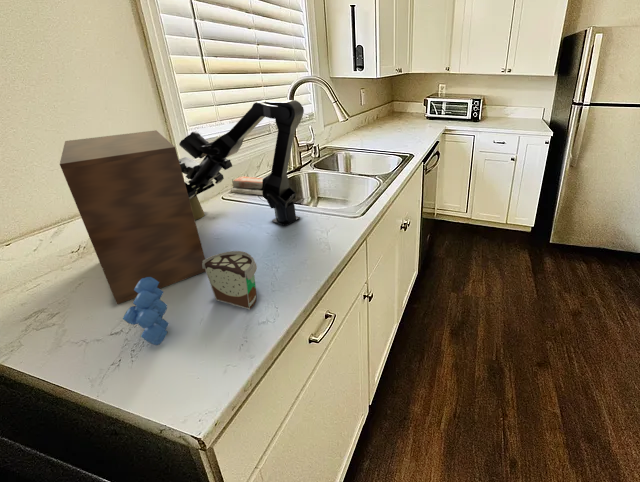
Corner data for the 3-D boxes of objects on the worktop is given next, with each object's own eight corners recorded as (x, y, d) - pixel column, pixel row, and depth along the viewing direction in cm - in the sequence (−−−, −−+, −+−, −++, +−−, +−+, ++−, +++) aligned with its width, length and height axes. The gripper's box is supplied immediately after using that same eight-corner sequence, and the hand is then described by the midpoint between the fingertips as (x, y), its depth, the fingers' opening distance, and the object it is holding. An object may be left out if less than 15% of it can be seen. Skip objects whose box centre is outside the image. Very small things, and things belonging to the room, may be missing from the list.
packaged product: (227, 181, 130) (244, 173, 139) (229, 192, 131) (246, 184, 140) (266, 184, 125) (281, 176, 134) (268, 196, 127) (283, 187, 136)
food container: (275, 292, 74) (268, 255, 70) (255, 311, 68) (246, 271, 65) (232, 282, 78) (223, 245, 74) (210, 298, 72) (200, 260, 69)
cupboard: (185, 233, 100) (156, 130, 88) (208, 270, 82) (175, 146, 70) (110, 256, 89) (64, 141, 77) (117, 304, 71) (59, 164, 59)
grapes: (136, 323, 66) (117, 273, 61) (176, 310, 69) (160, 262, 64) (127, 366, 56) (104, 311, 52) (174, 349, 59) (155, 296, 55)
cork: (183, 221, 107) (174, 191, 103) (185, 214, 112) (176, 185, 108) (204, 218, 110) (196, 187, 106) (205, 211, 115) (197, 182, 111)
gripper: (208, 143, 111) (186, 173, 116) (165, 158, 94) (142, 192, 99) (234, 166, 113) (211, 194, 118) (197, 185, 96) (172, 217, 101)
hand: (186, 198), depth 109 cm, fingers closed on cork, 5 cm apart
